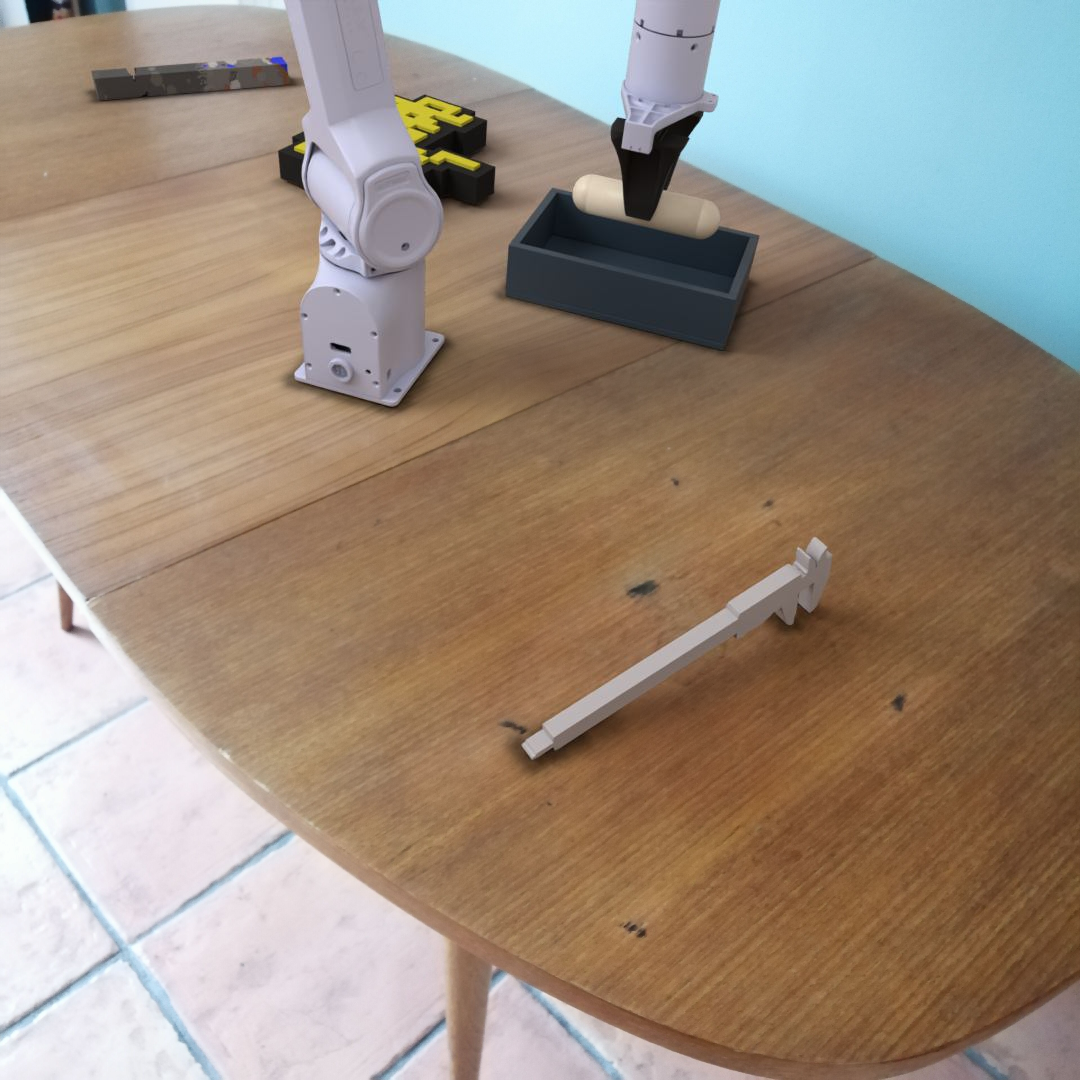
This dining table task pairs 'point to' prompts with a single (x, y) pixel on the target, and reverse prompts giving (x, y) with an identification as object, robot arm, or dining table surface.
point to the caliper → (695, 645)
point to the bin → (630, 272)
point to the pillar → (190, 78)
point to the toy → (429, 149)
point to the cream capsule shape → (670, 215)
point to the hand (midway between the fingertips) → (643, 207)
